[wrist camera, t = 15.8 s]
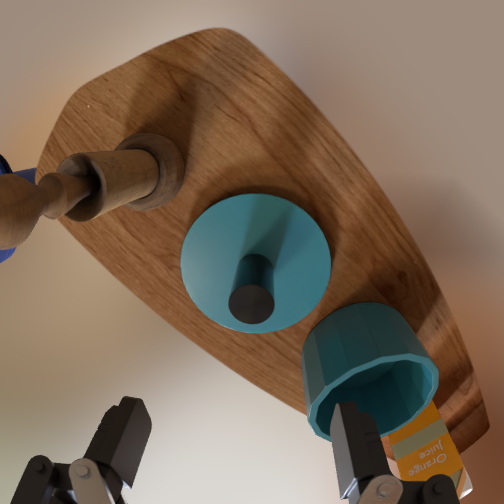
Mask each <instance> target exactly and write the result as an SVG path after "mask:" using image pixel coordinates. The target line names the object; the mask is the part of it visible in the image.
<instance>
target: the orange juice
mask: <svg viewBox="0 0 504 504" xmlns="http://www.w3.org/2000/svg"><path fill="white" fill-rule="evenodd" d="M388 437H389V440H390V443H391V447H392V450H393V454H394V457H395V460H396V462H397V465H398V469H399V472H400V476H401V480H403V481H427V480H428V479H429V478H430V477H432V476H434V475H437V474H444V475H447V476H449V477H450V478H451V479H452V480H453V482H454V485H455V488H456V492H457V495H458V499H460V496H461V493H462V490H463V487H464V484H465V481H466V478H467V477H466V471H465V466H463V464H462V462H461V459H460V456H459V455H458V454H459V451H458V452H457V450H458V449H457V450H456V448H455V446H454V443H453V441H452V439H451V437H450V435H449V432H448V430H447V428H446V426H445V423H444V421H443V419H442V418H441V416H440V414H439V412H438V410H437V408H436V406H435V404H434V402H433V400H431V402H430V403H429V405H428V406H427V407H426V408H425V409H424V410H423V411H422V412H421V413H420V414H419V415H418V416H417V417H416V418H415V419H414V420H413V421H411V422H410V423H408V424H407V425H405V426H403V427H402V428H400V429H399V430H397V431H396V432H393V433H391V434H389V435H388Z"/></svg>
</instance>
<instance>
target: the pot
mask: <svg viewBox="0 0 504 504" xmlns="http://www.w3.org/2000/svg"><path fill="white" fill-rule="evenodd" d="M301 367H302V375H303V383H304V392H305V400H306V409H307V418H308V423H309V424H310V426H311V428H312V429H313V431H314V433H315V434H316V435H317V436H319V437H322V438H323V439H326V440H328V441H330V442H332V441H331V435H330V426H331V421H332V417H333V414H334V410H335V406H336V404H337V403H343V402H351V401H355V402H356V405H357V408H358V411H359V413H362V412H368V413H369V414H370V415H371V416H372V418H373V419H374V420H375V422H376V425H377V428H378V433H379V435H380V438H381V437H383V436H386V435H389V434H391V433H393V432H396V431H397V430H399V429H400V428H402V427H403V426H405V425H407V424H408V423H410V422H411V421H413V420H414V419H415V418H416V417H417V416H418V415H419V414H420V413H421V412H422V411H423V410H424V409H425V408H426V407H427V406H428V405H429V403H430V402H431V400H432V398H433V396H434V394H435V392H436V390H437V388H438V386H439V370H438V368H437V366H436V365H435V363H434V361H433V360H432V358H431V357H430V355H429V354H428V352H427V351H426V349H425V347H424V346H423V344H422V343H421V341H420V340H419V338H418V337H417V336H416V334H415V333H414V331H413V330H412V328H411V327H410V325H409V324H408V323H407V321H406V320H405V319H404V318H403V316H402V315H401V314H400V313H399V312H398V311H397V310H396V309H394V308H393V307H390V306H388V305H385V304H382V303H376V302H364V303H357V304H353V305H349V306H346V307H344V308H341V309H339V310H337V311H335V312H333V313H332V314H330V315H328V316H327V317H326V318H324V319H323V320H322V321H321V322H320V323H319V324H317V325H316V327H315V328H314V329H313V330H312V331H311V333H310V334H309V336H308V337H307V339H306V341H305V343H304V346H303V349H302V363H301Z"/></svg>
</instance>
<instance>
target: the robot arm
mask: <svg viewBox="0 0 504 504" xmlns="http://www.w3.org/2000/svg"><path fill="white" fill-rule="evenodd" d="M151 426H152V423H151V418H150V416H149V414H148V412H147V409H146V407H145V405H144V403H143V400H142V399H140V398H134V397H128V396H124V397H123V398H122V400H121V402H120V404H119V406H115V405H114V406H112V407H111V408H110V409H109V410H108V411H107V412H106V413H105V415H104V417H103V419H102V420H101V423H100V425H99V426H98V430H97V431H96V433H95V435H94V437H93V439H92V441H91V443H90V445H89V447H88V449H87V451H86V453H85V455H84V457H83V458H81V459H77V460H75V461H74V462H73V463H72V464H61V463H52V462H51V461H50V460H49V459H48V458H47V457H45V456H43V455H38V456H34V457H33V458H31V460H30V461H29V462H28V465H27V467H26V469H25V471H24V473H23V475H22V478H21V480H20V482H19V484H18V487H17V489H16V491H15V494H14V496H13V498H12V501H11V503H10V504H128V503H127V501H126V499H125V496H124V495H123V492H122V491H121V490H122V487H123V486H124V487H127V488H132V485H133V482H134V479H135V476H136V473H137V470H138V467H139V464H140V461H141V458H142V455H143V452H144V450H145V446H146V444H147V441H148V438H149V435H150V432H151V428H152V427H151ZM330 435H331V441H332V447H333V453H334V459H335V465H336V471H337V478H338V484H339V491H340V498H341V499H347V498H348V499H349V504H460V502H459V499H458V495H457V492H456V488H455V485H454V482H453V480H452V479H451V478H450V477H449V476H447V475H444V474H437V475H434V476H432V477H430V478H429V479H428V480H427V481H403V480H400V479H398V478H396V477H395V476H394V475H393V474H392V473H391V471H390V468H389V465H388V461H387V458H386V455H385V451H384V448H383V445H382V441H381V438H380V435H379V433H378V428H377V425H376V422H375V420H374V419H373V418H372V416H371V415H370V414H369V413H368V412H362V413H359V411H358V408H357V405H356V402H355V401H351V402H343V403H337V404H336V406H335V410H334V414H333V417H332V421H331V426H330Z"/></svg>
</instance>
